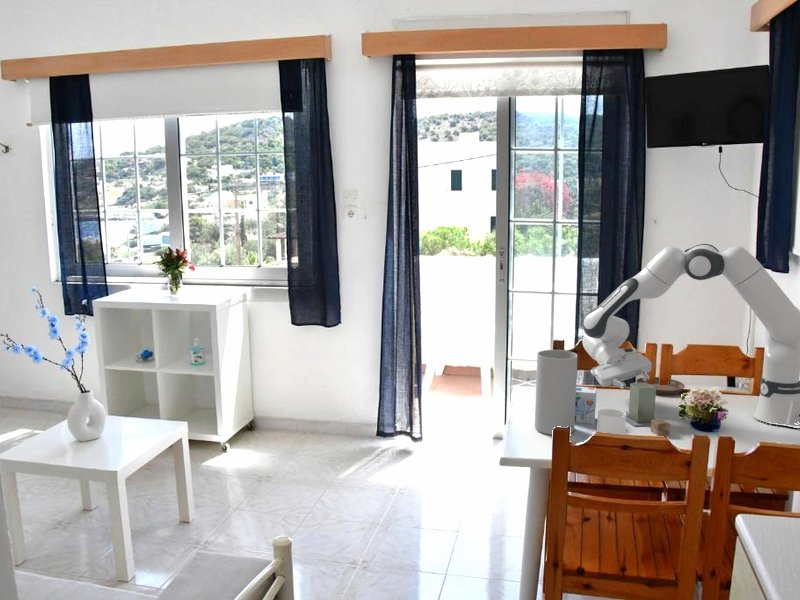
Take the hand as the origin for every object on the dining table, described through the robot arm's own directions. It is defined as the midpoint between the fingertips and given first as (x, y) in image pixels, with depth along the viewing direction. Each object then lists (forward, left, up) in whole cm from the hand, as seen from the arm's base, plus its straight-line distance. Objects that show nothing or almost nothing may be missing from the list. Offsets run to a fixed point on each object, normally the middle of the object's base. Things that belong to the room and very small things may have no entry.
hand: (636, 383), depth 255 cm
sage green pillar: (+2, +9, -10) cm, 14 cm away
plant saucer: (-24, -24, -11) cm, 36 cm away
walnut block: (+2, +21, -11) cm, 24 cm away
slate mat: (+2, +9, -10) cm, 14 cm away
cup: (+22, +26, -11) cm, 36 cm away
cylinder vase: (+34, +12, -11) cm, 38 cm away
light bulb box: (+22, +4, -11) cm, 25 cm away
